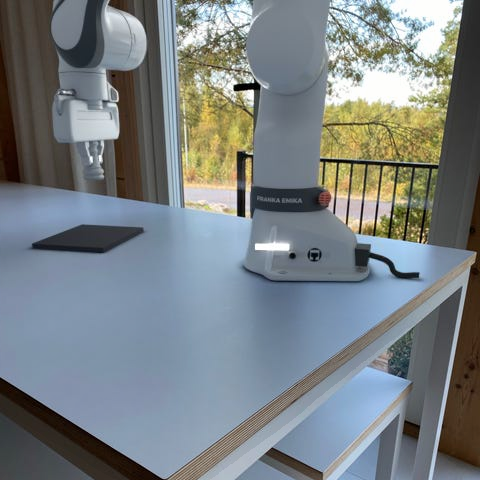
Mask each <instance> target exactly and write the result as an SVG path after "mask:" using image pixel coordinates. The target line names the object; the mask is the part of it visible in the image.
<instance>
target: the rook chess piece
mask: <svg viewBox="0 0 480 480" xmlns="http://www.w3.org/2000/svg"><path fill="white" fill-rule="evenodd" d="M97 145H98V142H97V141H89V147H88V150H89V153H90V156H92V157H93V165H90V166H83V170H82V174H83V176H82V178H83V180H85V181H101V180H104V178H105V175H104V173H105V170H104V169H103V168H102V166H101V164H99V160H98V155H97V152H98V150H97Z"/></svg>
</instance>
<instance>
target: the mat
mask: <svg viewBox="0 0 480 480" xmlns="http://www.w3.org/2000/svg"><path fill="white" fill-rule="evenodd" d="M144 230H145V229H144V227H141V226H125V225H124V226H122V225H104V224H103V225H102V224H85V223H84V224H79V225H77V226H74V227H71V228H69V229H66V230H63V231H61V232H58V233H56V234H53V235H51V236H48V237H46V238H42V239H40V240H37V241H34V242H32V243H31V248H32V249H40V250H56V251H68V252H88V253H101V254H104V253H106V252H108V251H110V250H112V249H113V248H115V247H118V246H119V245H121V244H123V243H126V242H128V240H130V239H132V238H134V237H136V236H138V235H140V234H142V233H144Z"/></svg>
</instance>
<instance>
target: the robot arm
mask: <svg viewBox="0 0 480 480" xmlns="http://www.w3.org/2000/svg"><path fill="white" fill-rule="evenodd" d="M52 3H53V4H52V13H51V15H50V19H49V20H50V21H49V32H50V38H51V41H52V44H53V46H54V48H55V50H56V53H57V56H58V60H59V61H58V79H59V87H60V88H58V89H57V91H56V93H55V94H54V95H53V97H54V101H53V102H52V107H51V109H52V111H51V112H52V129H53V136H54V139H55V140H56V142H57V143H61V144H63V143H64V144H65V143H66V144H72V143H73V144H74V143H75V148H76V151H77V152H78V155H79V156H80V161H81V165H82V166H83V167H85V166H90V165H93V157H92V156H90V153H89V150H88V147H89V141H97V142H98V145H97V150H98V152H97V155H98V160H99V164H100V165H102V164H103V160H104V159H103V153H104V149H105V141H111V140H118V138H119V135H120V116H119V115H120V114H119V108H118V105H117V103H118V102H119V101H120V100H119V99H120V97H119V91H118V90H116V89H115V88H114V86H112V85H111V84H110V82H109V81H108V80H107V79H108V78H107V71H106V70H110V71H120V72H121V71H122V72H127V71H132V70H136V69H137V68H139V67H140V66H141V65H142V64H143V62H144V60H145V58H146V55H147V52H148V38H147V37H148V36H147V33H146V29H145V27H144V25H143V23H142V22H141V20H140V19H139V18H137V17H136V16H135V15H132V14H131V13H129V12H126V11H123V10H120V9H117V8H115V7H112V6H110V5H109V3H110V0H53V2H52ZM330 6H331V0H253V3H252V10H251V16H250V17H251V18H250V23H249V30H248V32H247V36H246V42H245V43H246V44H245V54H246V60H247V64H248V67H249V70H250V72H251V74H252V76H253V78H254V79H255V80H256V82H257V83H258V84H259V85H260V93H259V102H258V103H259V104H258V112H257V119H256V124H255V125H256V126H255V129H254V134H253V176H252V177H253V179H252V181H253V183H252V185H250V192H249V213H250V215H249V216H250V219H251V224H250V231H249V238H248V244H247V247H246V248H247V249H246V253H245V257H244V259H243V262H242V265H243V267H244V268H245V269H247V270H248V271H250V272H253V273H256V274H259V275H262V276H263V277H265V279H266V278H267V279H268V280H270V281H280V282H281V281H290V282H291V281H293V282H295V281H298V282H360V281H363V280H366V279H367V278H368V276H369V275H370V273H371V271H370V270H371V268H370V267H371V266H370V265H371V264H370V260H371V259H372V260H375V261H378V262H382V263H383V264H385V265H386V266H387V267H388V269H389V272H390V273H391V274H392V276H394V277H397V278H399V279H420V275H421V274H420V273H421V272H419V271H409V272H402V271H399V270H398V269H396V266H395V263H394V262H393V260H391V259H390V258H389V257H386V256H384V255H382V254H378V253H375V252H373V251H371V249H372V244H370V243H361V242H360V243H359V242H358V239H357V236H356V233H355V232H354V230H353V229H352V228H351V227H350V226H348V224H346V223H345V222H344V221H343V220H342V219H341V218H339V217H338V216H337V215H336V214H334V213H333V212H332V211H331V210H330V209H329V206H330V203H331V201H332V194H331V193H330V191H329V190H328V189H326V188H325V187H322V186H321V185H319V177H320V163H321V147H322V135H323V134H322V133H323V125H324V115H325V106H326V96H327V86H328V85H327V84H328V76H329V75H328V74H329V61H330V53H329V52H330V51H329V47H328V44H327V39H326V37H327V28H328V21H329V15H330Z"/></svg>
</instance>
